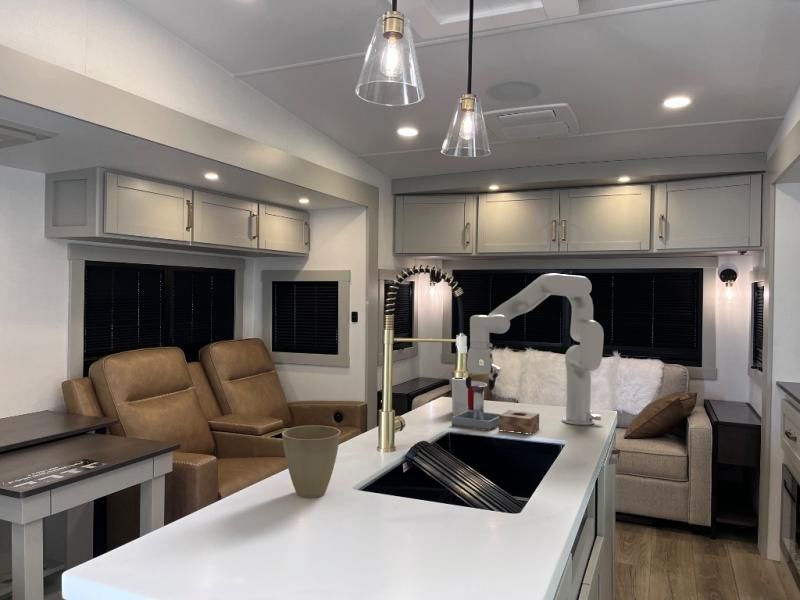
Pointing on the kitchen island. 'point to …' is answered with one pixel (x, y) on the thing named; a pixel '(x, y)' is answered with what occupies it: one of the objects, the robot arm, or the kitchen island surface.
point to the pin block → (519, 421)
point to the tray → (467, 420)
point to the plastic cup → (471, 393)
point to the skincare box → (459, 396)
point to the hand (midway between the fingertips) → (480, 388)
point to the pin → (478, 402)
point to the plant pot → (311, 457)
